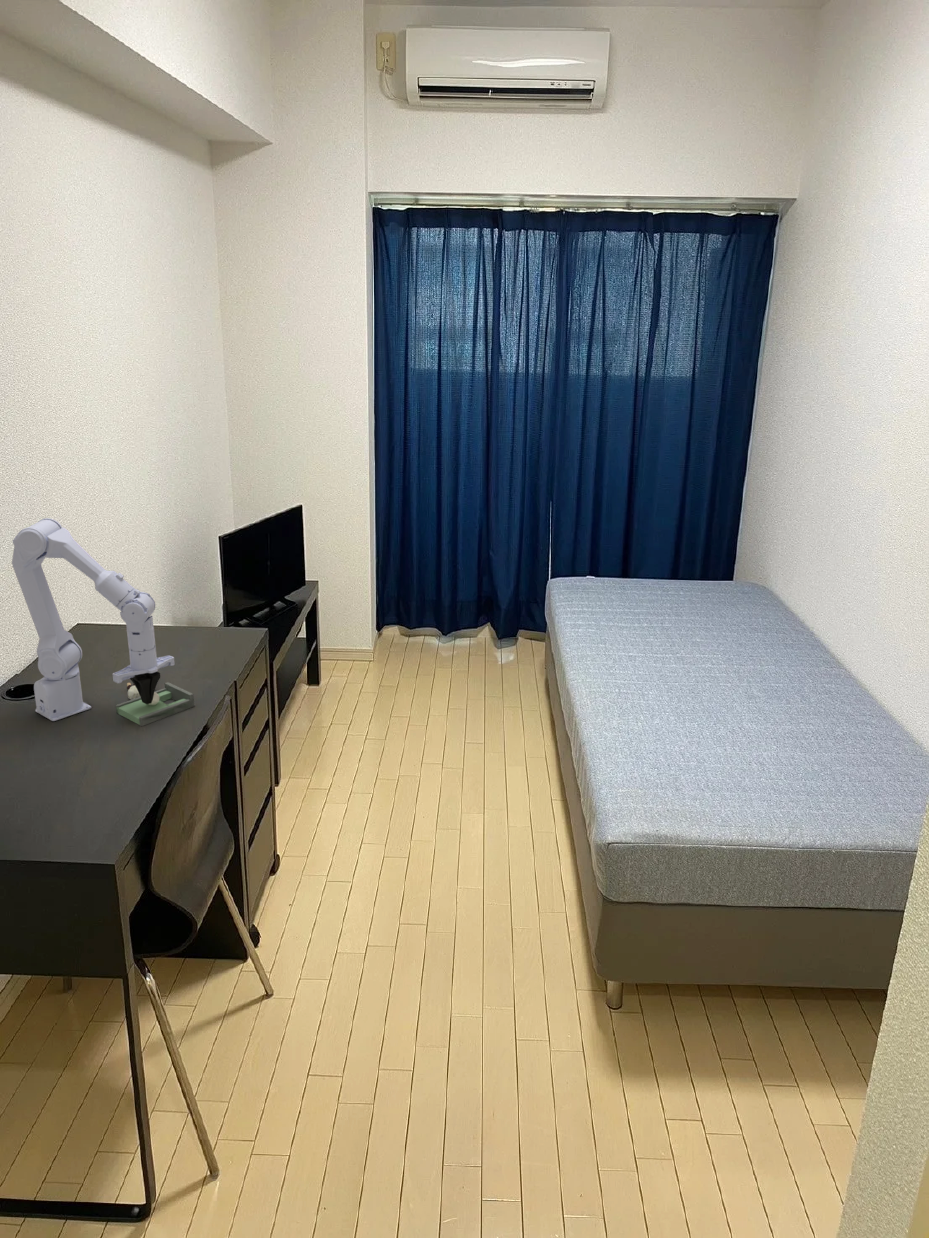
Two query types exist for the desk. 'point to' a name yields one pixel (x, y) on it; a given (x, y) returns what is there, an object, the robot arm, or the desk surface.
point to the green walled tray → (148, 713)
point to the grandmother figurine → (132, 691)
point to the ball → (155, 699)
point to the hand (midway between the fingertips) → (147, 702)
